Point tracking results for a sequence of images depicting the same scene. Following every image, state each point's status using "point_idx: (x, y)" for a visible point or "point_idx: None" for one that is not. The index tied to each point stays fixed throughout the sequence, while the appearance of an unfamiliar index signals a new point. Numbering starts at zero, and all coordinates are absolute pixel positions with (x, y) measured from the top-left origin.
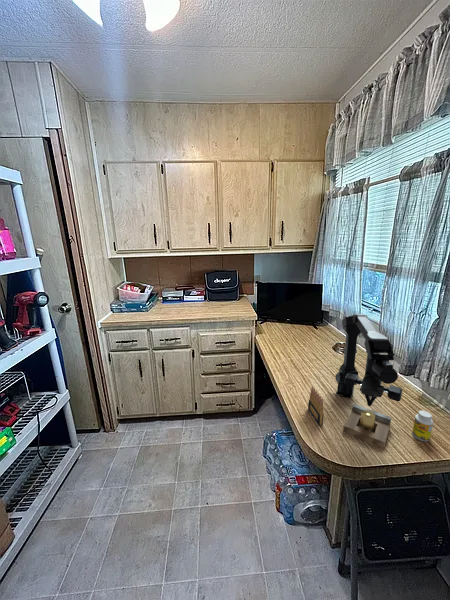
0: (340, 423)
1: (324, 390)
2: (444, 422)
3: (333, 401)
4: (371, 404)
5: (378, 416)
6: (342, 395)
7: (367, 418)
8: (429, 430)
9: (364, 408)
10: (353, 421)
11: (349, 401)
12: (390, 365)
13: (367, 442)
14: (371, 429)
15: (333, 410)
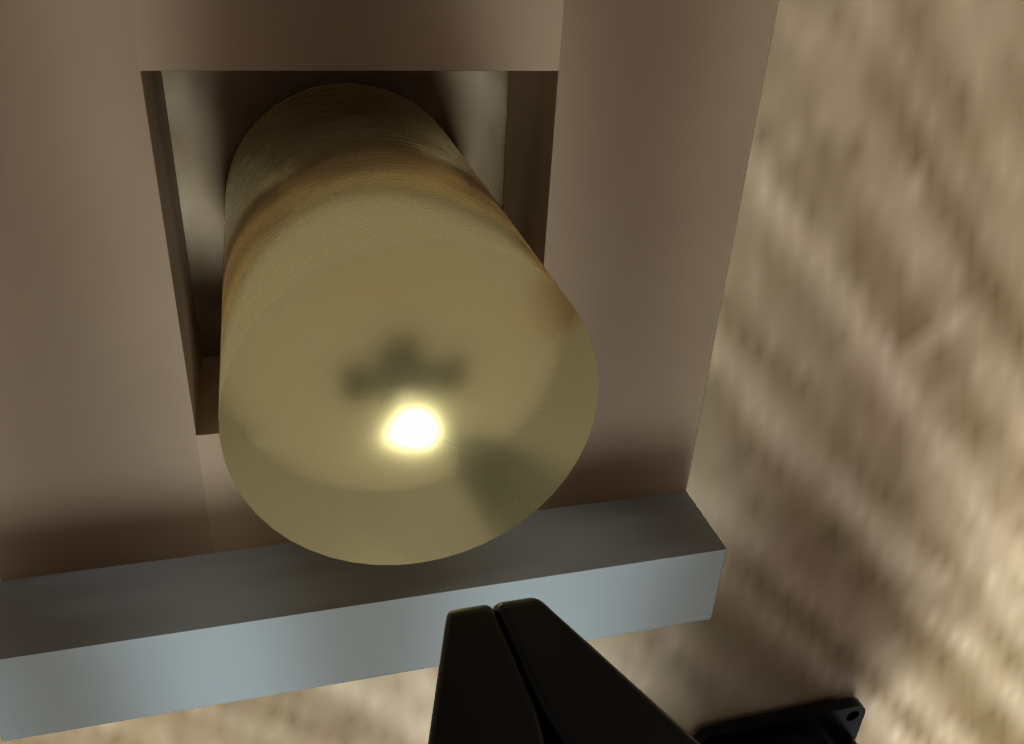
0: (772, 122)
1: (984, 659)
2: None
3: (882, 549)
4: (438, 709)
5: (231, 609)
6: (787, 718)
7: (392, 227)
8: None
9: None
10: (625, 188)
11: (690, 683)
12: None
13: None
14: (245, 182)
15: (882, 370)
